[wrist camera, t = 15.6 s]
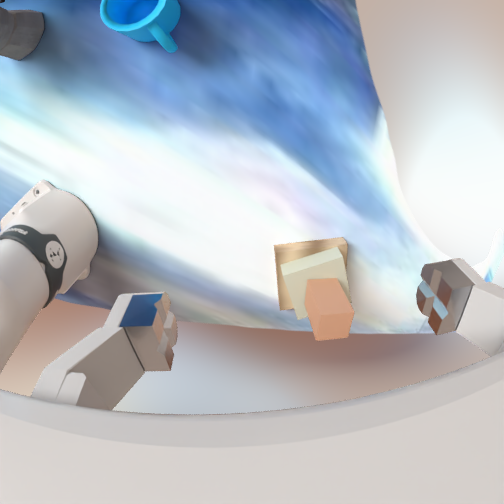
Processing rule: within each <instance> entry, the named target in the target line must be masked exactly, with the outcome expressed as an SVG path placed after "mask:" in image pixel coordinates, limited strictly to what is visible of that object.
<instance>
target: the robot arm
mask: <svg viewBox="0 0 504 504" xmlns="http://www.w3.org/2000/svg"><path fill="white" fill-rule="evenodd" d="M38 190H39V192H38ZM97 246H98V231H97V227H96V223H95V221H94V218H93V216H92V214H91V213H90V211H89V209H88V208H87V207H86V206H85V204H84V203H83V202H82V201H81V200H80V199H78V198H77V197H76V196H74V195H72V194H71V193H68V192H66V191H62V190H59V189H56V188H55V187H54V186H52V185H51V184H50V183H49V182H47V181H46V180H41V181H39V182H38V183H37V184H36V185H35V186H34V187H33V188H32V189H31V190H30V191H29V192H28V193H27V194H26V195H25V196H24V197H23V198H21V200H20V201H19V202H18V203H17V204H16V205H15V206H14V207H13V208H12V209H11V210H10V211H9V212H8V213H7V214H6V215H5V216H4V217H3V218H2V220H1V232H0V373H1V372H2V370H3V368H4V366H5V365H6V363H7V361H8V360H9V358H10V357H11V355H12V353H13V352H14V350H15V349H16V347H17V346H18V344H19V343H20V341H21V339H22V338H23V336H24V335H25V333H26V332H27V330H28V328H29V327H30V325H31V324H32V322H33V321H34V320H35V318H36V317H37V315H38V314H39V312H40V311H41V309H43V308H45V307H46V306H47V305H48V304H49V303H50V302H51V301H52V300H53V299H54V298H55V296H56V295H57V294H59V293H62V294H64V293H65V292H67V290H68V289H69V288H70V287H71V286H72V285H73V284H74V282H75V281H76V280H79V279H86V278H87V277H88V275H89V273H90V262H91V260H92V258H93V257H94V255H95V253H96V250H97ZM421 277H422V279H423V281H422V282H421V283H420V285H419V286H418V289H417V294H416V298H417V305H418V308H419V310H420V311H421V313H422V314H424V315H426V316H428V317H429V318H428V323H429V325H430V326H431V328H432V329H433V331H434V332H435V334H436V335H440V334H444V333H448V332H452V331H456V332H457V333H458V334H460V335H461V336H463V337H464V338H465V339H467V340H468V341H470V342H471V343H473V344H474V345H475V346H477V347H478V348H480V349H481V350H482V351H484V352H485V353H486V354H488V355H489V356H491V357H489V358H487V359H484V360H482V361H479V362H477V363H474V364H472V365H469V366H466V367H464V368H461V369H458V370H456V371H453V372H450V373H447V374H444V375H441V376H438V377H435V378H432V379H429V380H425V381H422V382H419V383H415V384H412V385H408V386H405V387H401V388H397V389H394V390H389V391H386V392H381V393H377V394H373V395H369V396H364V397H359V398H354V399H350V400H344V401H339V402H333V403H328V404H321V405H315V406H308V407H300V408H293V409H285V410H276V411H264V412H252V413H237V414H212V415H211V414H209V415H178V414H150V413H134V412H122V411H112V409H113V408H114V407H115V406H116V405H117V404H118V403H119V401H120V400H121V399H122V398H123V397H124V396H125V395H126V393H127V392H128V391H129V390H130V389H131V388H132V387H133V385H134V384H135V383H136V382H137V381H138V380H139V379H140V378H141V376H142V375H143V374H144V373H145V372H144V371H170V370H171V366H172V361H173V356H174V353H173V350H172V347H173V346H174V345H175V344H176V341H177V323H176V319H175V315H174V314H173V313H172V312H171V311H170V310H169V308H170V304H171V302H170V299H169V296H168V294H167V293H166V292H151V293H130V294H121V295H119V296H118V298H117V300H116V302H115V304H114V306H113V308H112V310H111V312H110V314H109V316H108V318H107V320H106V322H105V324H104V326H103V328H97V329H96V330H95V331H93V332H92V333H91V334H89V335H88V336H86V337H85V338H84V339H82V340H81V341H80V342H78V343H77V344H76V345H75V346H73V347H72V348H70V349H69V350H68V351H66V352H65V353H64V354H62V355H61V356H60V357H58V358H57V359H56V360H54V361H53V362H52V363H50V364H49V365H48V366H46V367H45V368H44V370H43V372H42V374H41V376H40V378H39V380H38V382H37V384H36V386H35V388H34V390H33V392H32V395H31V397H29V396H24V395H20V394H16V393H13V392H9V391H5V390H2V389H0V504H504V288H502V287H500V286H497V285H495V284H493V283H491V282H487V283H486V282H485V281H484V280H483V279H482V278H481V276H480V275H479V274H478V273H477V272H475V271H474V270H473V269H472V268H471V267H470V266H469V265H468V264H467V263H466V262H465V261H464V260H463V259H460V258H457V259H451V260H448V261H442V262H436V263H430V264H425V265H424V267H423V268H422V272H421Z"/></svg>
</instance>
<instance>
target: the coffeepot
mask: <svg viewBox="0 0 504 504" xmlns="http://www.w3.org/2000/svg"><path fill="white" fill-rule="evenodd" d="M3 2H5V0H0V3H3ZM43 31H44V19H43V16H42V13H41V12H37V11H32V10H6V9H4V8H1V7H0V55H1V56H5V57H8V58H12V59H15V60H21V59H22V58H24V57H26V56H27V55H29V54H30V53H31V52H32V51H33V50H35V48H36V46H37V45H38V43H39V41H40V39H41V37H42V34H43Z"/></svg>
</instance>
